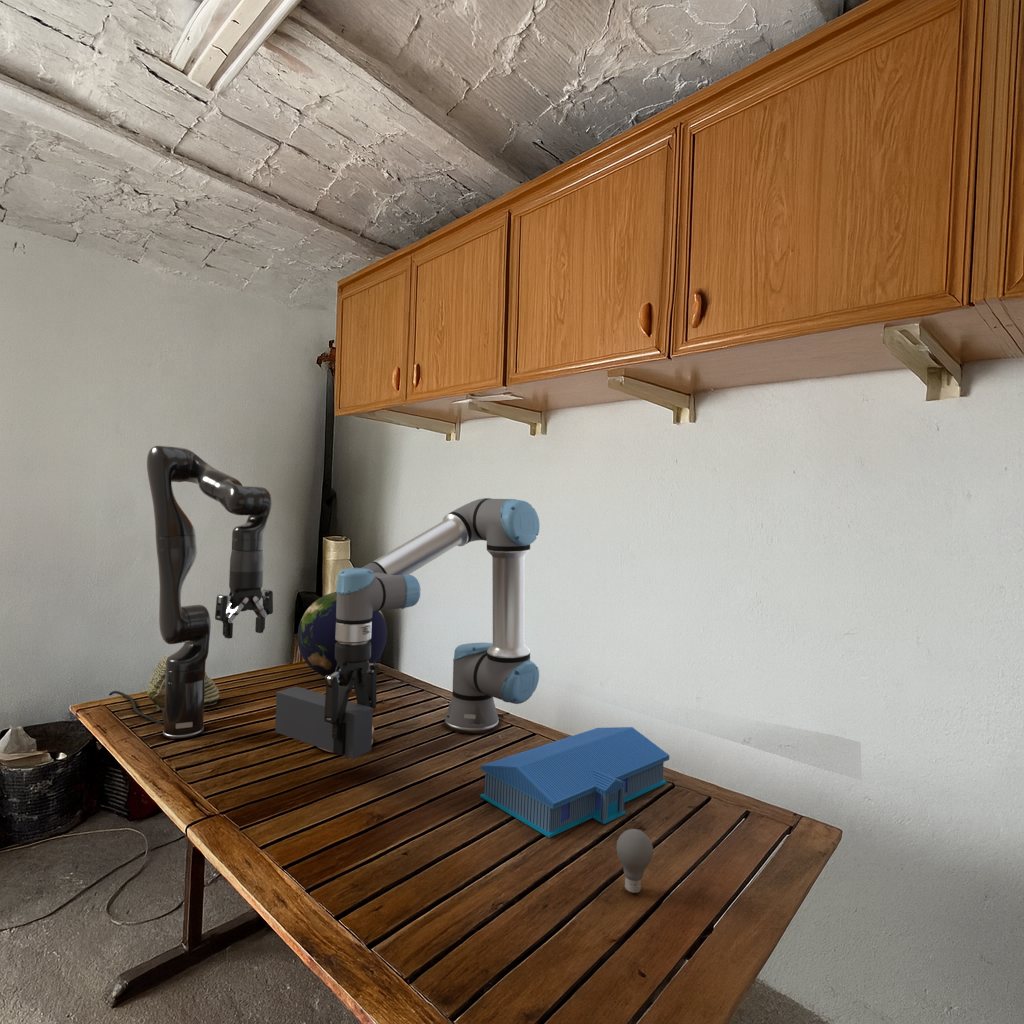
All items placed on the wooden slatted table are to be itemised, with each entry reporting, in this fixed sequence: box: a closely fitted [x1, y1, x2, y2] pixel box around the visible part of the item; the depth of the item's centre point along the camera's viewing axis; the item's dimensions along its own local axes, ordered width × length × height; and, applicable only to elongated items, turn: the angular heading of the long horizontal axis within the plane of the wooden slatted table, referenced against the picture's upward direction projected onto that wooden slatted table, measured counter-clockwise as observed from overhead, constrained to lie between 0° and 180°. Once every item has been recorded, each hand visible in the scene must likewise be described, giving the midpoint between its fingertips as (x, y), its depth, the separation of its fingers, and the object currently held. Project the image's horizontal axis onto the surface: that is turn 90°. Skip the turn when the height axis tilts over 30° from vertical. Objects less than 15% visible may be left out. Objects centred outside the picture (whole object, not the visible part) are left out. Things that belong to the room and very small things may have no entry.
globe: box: [297, 591, 388, 677], centre depth 220 cm, size 30×30×30 cm
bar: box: [274, 685, 374, 760], centre depth 141 cm, size 25×6×9 cm, turn 59°
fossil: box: [147, 654, 221, 712], centre depth 185 cm, size 9×18×15 cm, turn 132°
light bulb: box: [615, 828, 654, 894], centre depth 106 cm, size 6×6×10 cm
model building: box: [479, 726, 670, 839], centre depth 141 cm, size 39×24×10 cm, turn 132°
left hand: (244, 635), depth 154 cm, fingers open, 8 cm apart
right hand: (350, 748), depth 136 cm, fingers closed on bar, 5 cm apart
